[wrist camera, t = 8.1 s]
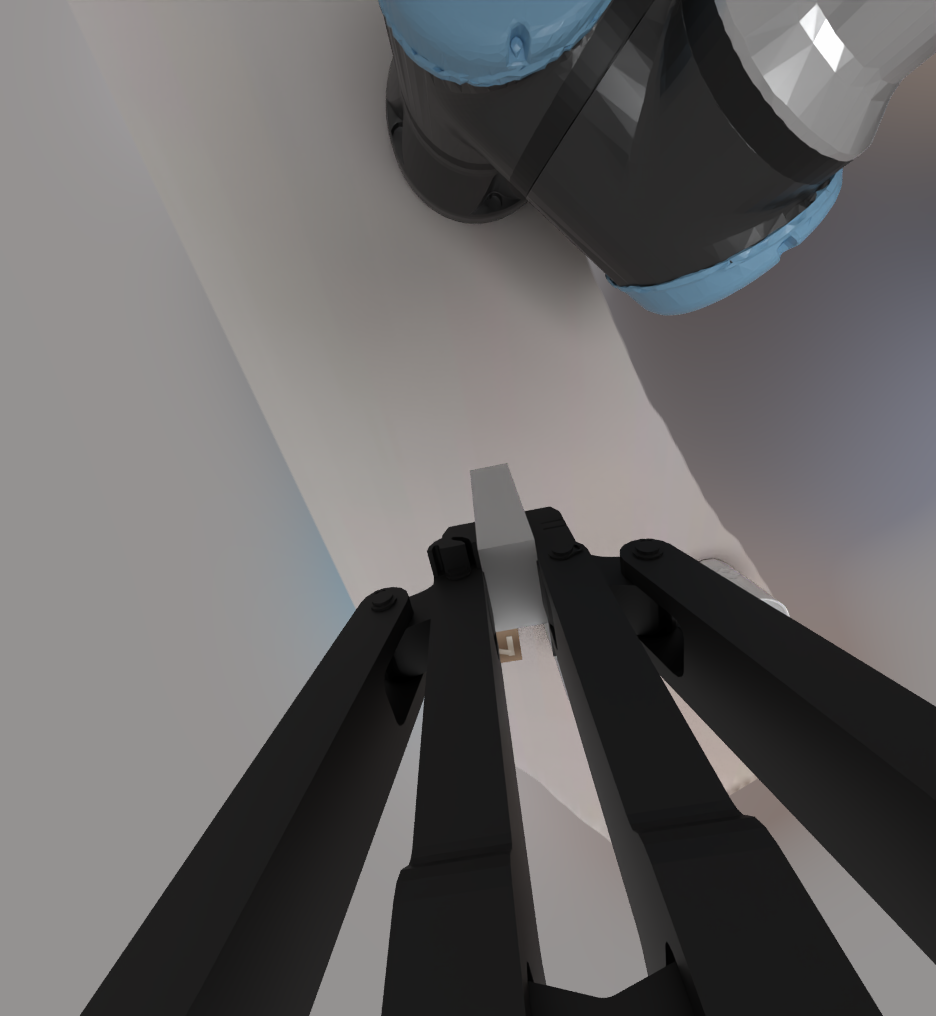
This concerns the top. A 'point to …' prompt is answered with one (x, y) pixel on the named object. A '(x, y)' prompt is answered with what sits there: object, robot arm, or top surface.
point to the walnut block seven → (509, 645)
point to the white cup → (744, 583)
